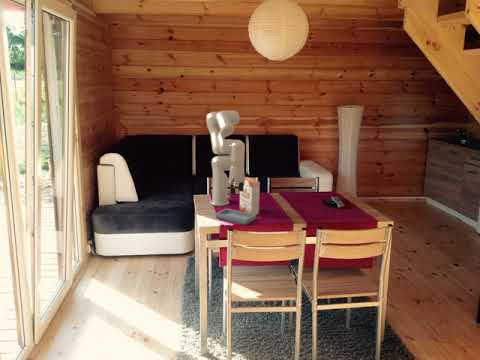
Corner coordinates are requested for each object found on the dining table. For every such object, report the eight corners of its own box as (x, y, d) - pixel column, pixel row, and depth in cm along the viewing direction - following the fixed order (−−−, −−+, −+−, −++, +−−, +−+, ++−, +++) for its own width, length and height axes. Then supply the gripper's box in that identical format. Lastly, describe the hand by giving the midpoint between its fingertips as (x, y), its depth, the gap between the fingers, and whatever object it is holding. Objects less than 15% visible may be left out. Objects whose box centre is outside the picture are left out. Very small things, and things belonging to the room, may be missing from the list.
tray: (226, 213, 279) (226, 208, 278) (255, 219, 269) (255, 214, 268) (215, 218, 269) (215, 213, 269) (245, 224, 259) (246, 219, 259)
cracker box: (238, 209, 286) (239, 177, 281) (246, 208, 289) (248, 176, 284) (250, 216, 275) (252, 182, 270) (259, 214, 278) (260, 181, 273)
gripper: (239, 160, 270) (238, 188, 274) (223, 165, 256) (223, 194, 260) (250, 162, 266) (249, 190, 270) (235, 166, 252) (234, 197, 256)
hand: (236, 192), depth 265 cm, fingers open, 8 cm apart
